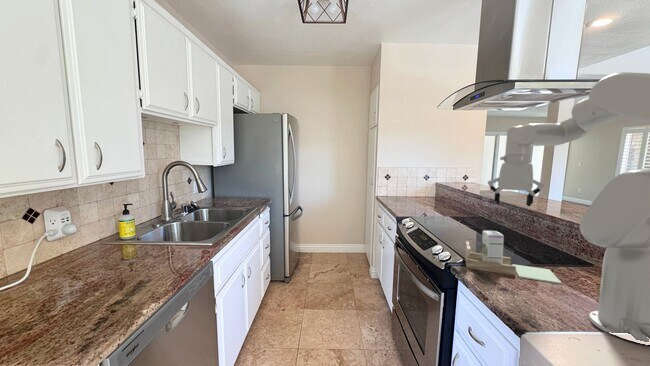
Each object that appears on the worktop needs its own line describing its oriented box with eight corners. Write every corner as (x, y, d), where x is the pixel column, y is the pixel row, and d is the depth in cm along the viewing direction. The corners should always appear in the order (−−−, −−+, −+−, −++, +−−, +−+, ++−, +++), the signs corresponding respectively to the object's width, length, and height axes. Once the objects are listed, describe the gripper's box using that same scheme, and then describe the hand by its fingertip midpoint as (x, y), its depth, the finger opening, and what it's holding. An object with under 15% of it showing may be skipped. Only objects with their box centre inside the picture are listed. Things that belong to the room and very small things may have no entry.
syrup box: (502, 270, 99) (505, 234, 98) (486, 269, 100) (488, 233, 99) (496, 265, 105) (498, 230, 104) (480, 263, 106) (482, 230, 105)
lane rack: (515, 275, 95) (516, 255, 94) (466, 267, 102) (467, 248, 101) (509, 265, 104) (510, 246, 103) (465, 259, 111) (466, 241, 110)
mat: (561, 284, 89) (561, 282, 88) (519, 277, 94) (519, 276, 94) (549, 270, 99) (549, 269, 99) (512, 265, 105) (512, 264, 104)
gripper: (490, 159, 96) (486, 204, 98) (549, 160, 88) (544, 208, 90) (488, 159, 102) (485, 200, 104) (543, 159, 94) (538, 204, 97)
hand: (512, 204), depth 97 cm, fingers open, 9 cm apart
